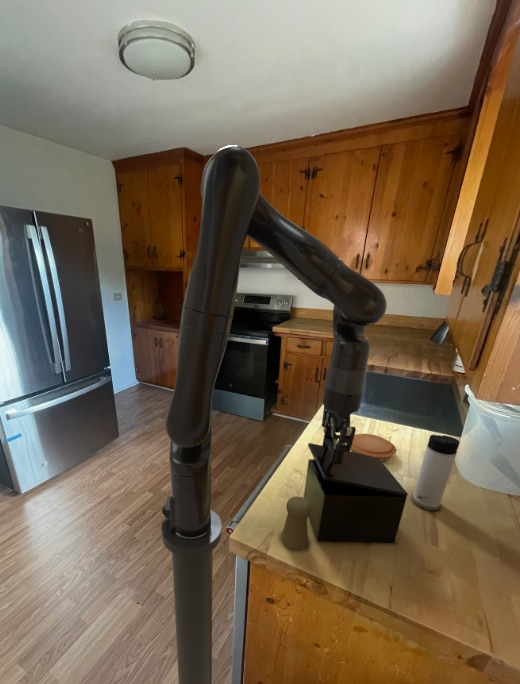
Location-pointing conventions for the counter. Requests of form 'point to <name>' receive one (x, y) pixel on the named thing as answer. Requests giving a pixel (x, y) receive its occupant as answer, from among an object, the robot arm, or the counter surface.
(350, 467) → the lid
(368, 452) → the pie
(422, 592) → the counter surface
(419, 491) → the travel mug
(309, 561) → the counter surface
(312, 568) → the counter surface
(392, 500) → the black open box
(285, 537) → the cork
